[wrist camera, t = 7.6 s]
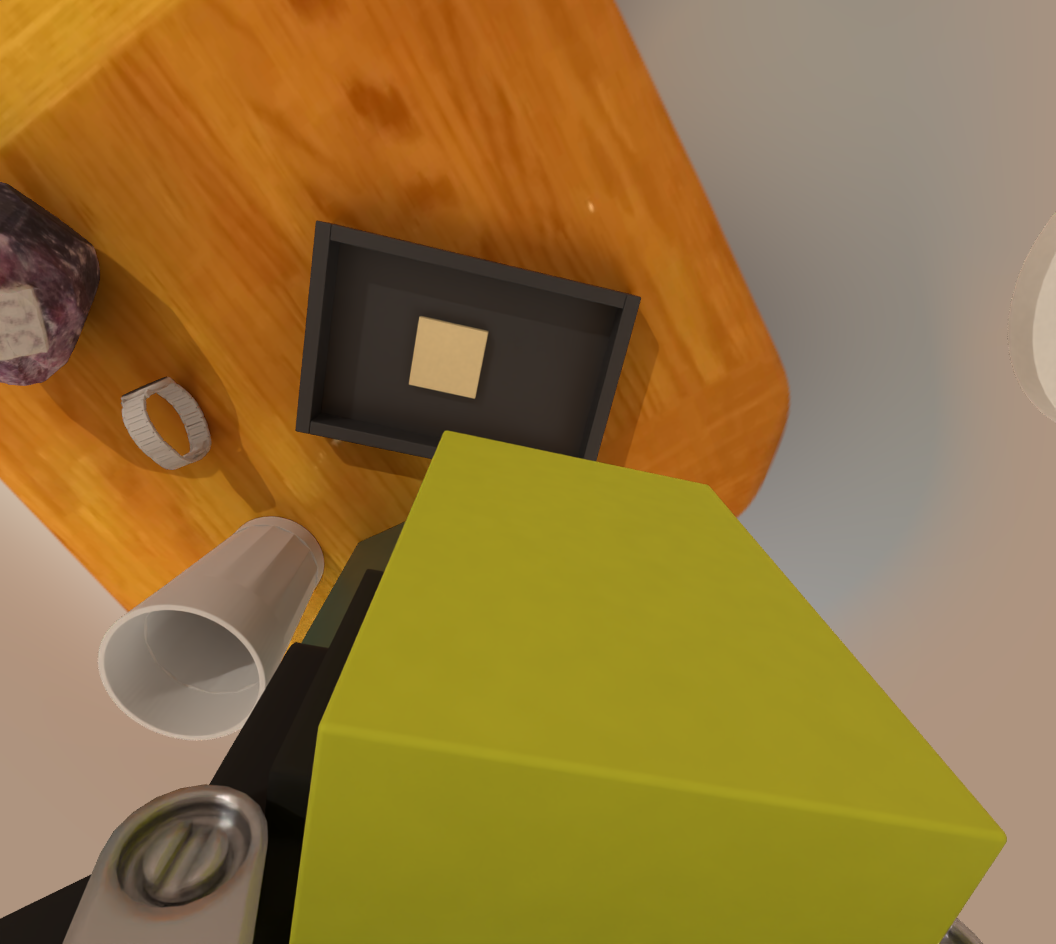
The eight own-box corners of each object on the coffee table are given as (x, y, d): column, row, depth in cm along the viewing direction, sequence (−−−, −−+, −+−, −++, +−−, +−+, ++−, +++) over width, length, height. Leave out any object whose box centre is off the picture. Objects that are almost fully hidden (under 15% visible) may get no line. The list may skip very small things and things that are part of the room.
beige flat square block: (488, 331, 35) (488, 332, 34) (475, 396, 36) (475, 398, 36) (420, 315, 35) (419, 316, 34) (410, 382, 36) (408, 384, 35)
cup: (348, 602, 42) (284, 731, 30) (236, 616, 42) (131, 749, 30) (319, 497, 39) (238, 594, 28) (200, 513, 39) (71, 616, 28)
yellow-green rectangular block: (709, 484, 10) (1013, 837, 4) (601, 795, 12) (685, 1331, 6) (444, 429, 10) (316, 726, 3) (383, 761, 12) (240, 1297, 6)
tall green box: (450, 500, 39) (392, 704, 21) (498, 585, 41) (481, 835, 23) (358, 542, 40) (227, 771, 22) (409, 623, 42) (327, 891, 24)
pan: (632, 294, 35) (641, 297, 32) (583, 476, 39) (587, 491, 36) (330, 223, 33) (315, 220, 31) (309, 419, 37) (295, 431, 35)
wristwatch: (189, 367, 36) (139, 384, 31) (231, 442, 38) (190, 468, 33) (148, 384, 36) (92, 403, 32) (191, 457, 38) (145, 485, 33)
